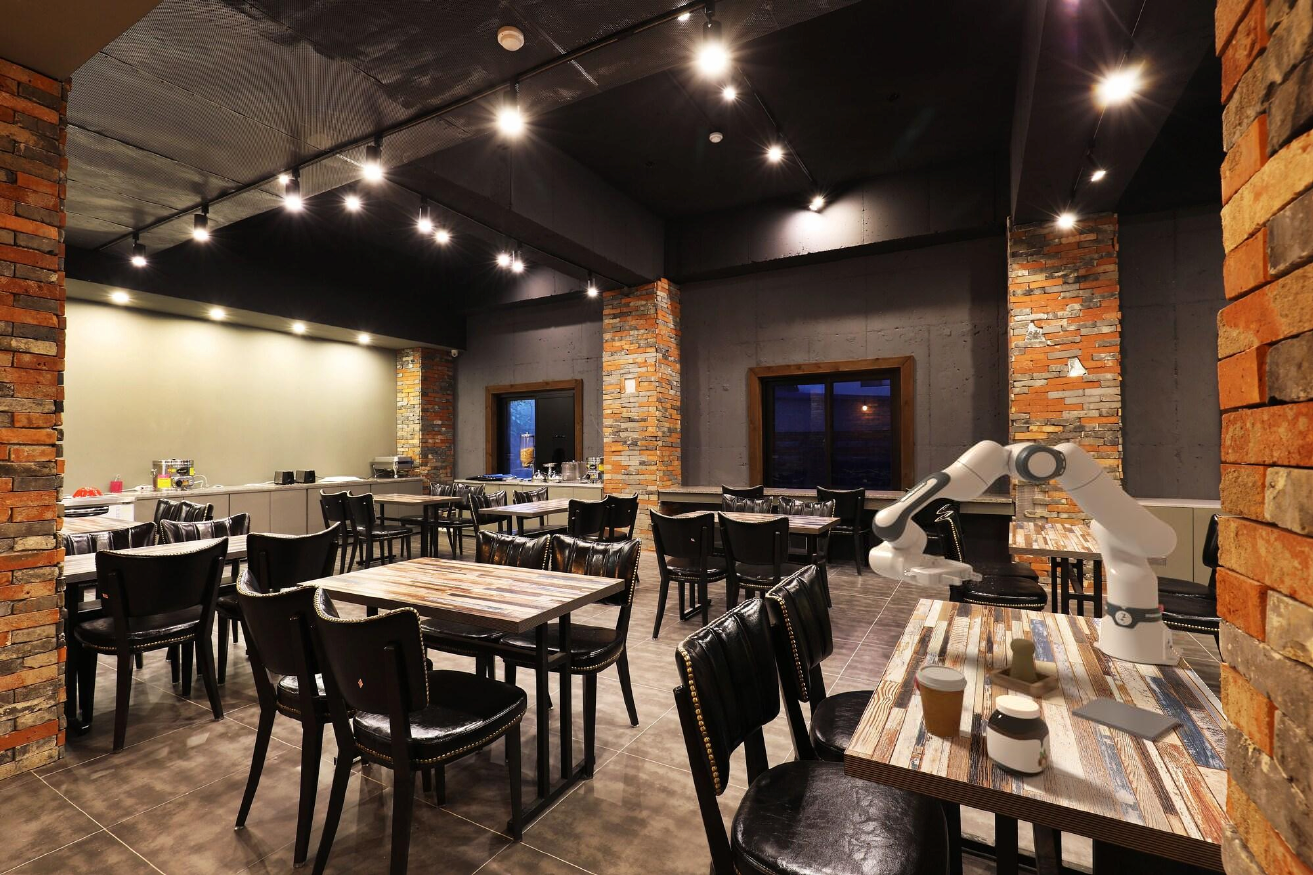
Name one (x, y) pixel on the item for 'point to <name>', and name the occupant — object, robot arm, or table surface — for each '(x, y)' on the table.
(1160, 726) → the coaster
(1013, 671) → the cork
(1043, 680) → the square wooden frame
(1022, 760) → the spread jar
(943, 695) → the disposable coffee cup
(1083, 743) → the table surface
